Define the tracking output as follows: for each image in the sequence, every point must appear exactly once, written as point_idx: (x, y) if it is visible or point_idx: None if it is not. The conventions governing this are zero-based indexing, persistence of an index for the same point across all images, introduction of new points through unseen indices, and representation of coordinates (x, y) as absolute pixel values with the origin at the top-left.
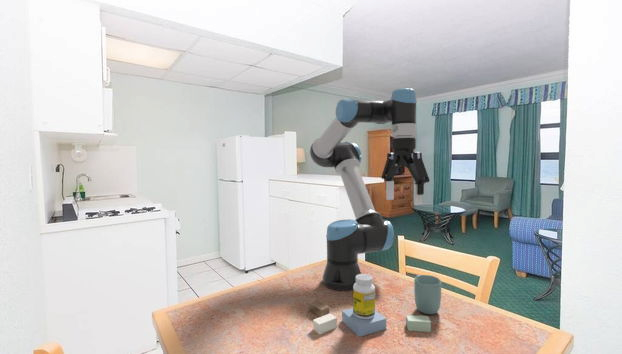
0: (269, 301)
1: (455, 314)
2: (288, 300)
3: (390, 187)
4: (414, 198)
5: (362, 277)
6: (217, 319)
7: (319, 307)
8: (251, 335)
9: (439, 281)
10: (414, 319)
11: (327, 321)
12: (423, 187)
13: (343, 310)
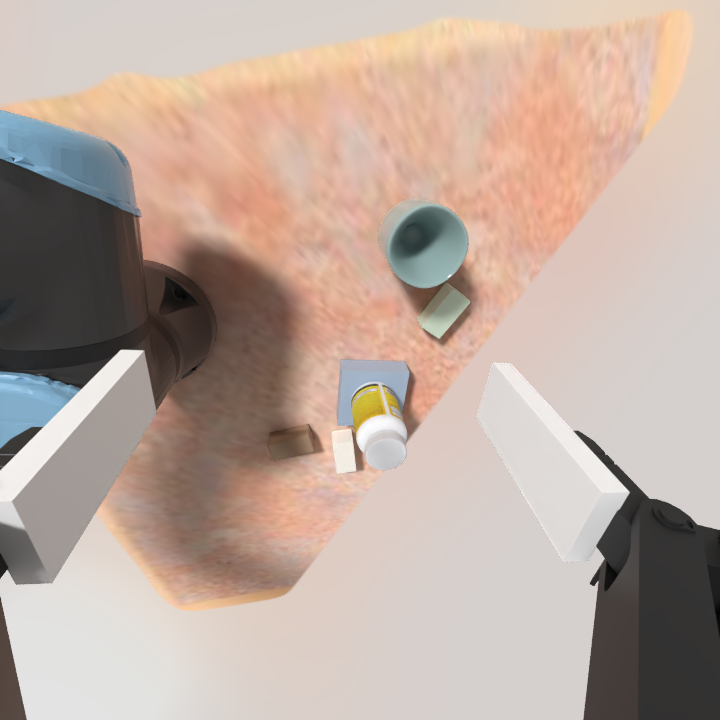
0: (202, 491)
1: (458, 175)
2: (212, 464)
3: (89, 474)
4: (502, 452)
5: (386, 459)
6: (236, 558)
7: (302, 451)
8: (305, 529)
9: (454, 219)
10: (443, 324)
11: (354, 457)
12: (631, 484)
13: (338, 422)
